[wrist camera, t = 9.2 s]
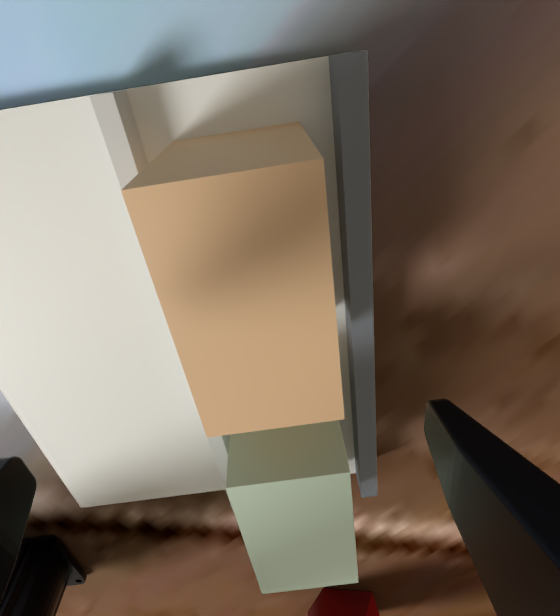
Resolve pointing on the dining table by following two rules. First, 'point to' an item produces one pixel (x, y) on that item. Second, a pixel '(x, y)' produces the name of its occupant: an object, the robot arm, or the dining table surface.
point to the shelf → (138, 283)
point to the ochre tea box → (244, 275)
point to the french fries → (344, 603)
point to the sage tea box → (294, 505)
